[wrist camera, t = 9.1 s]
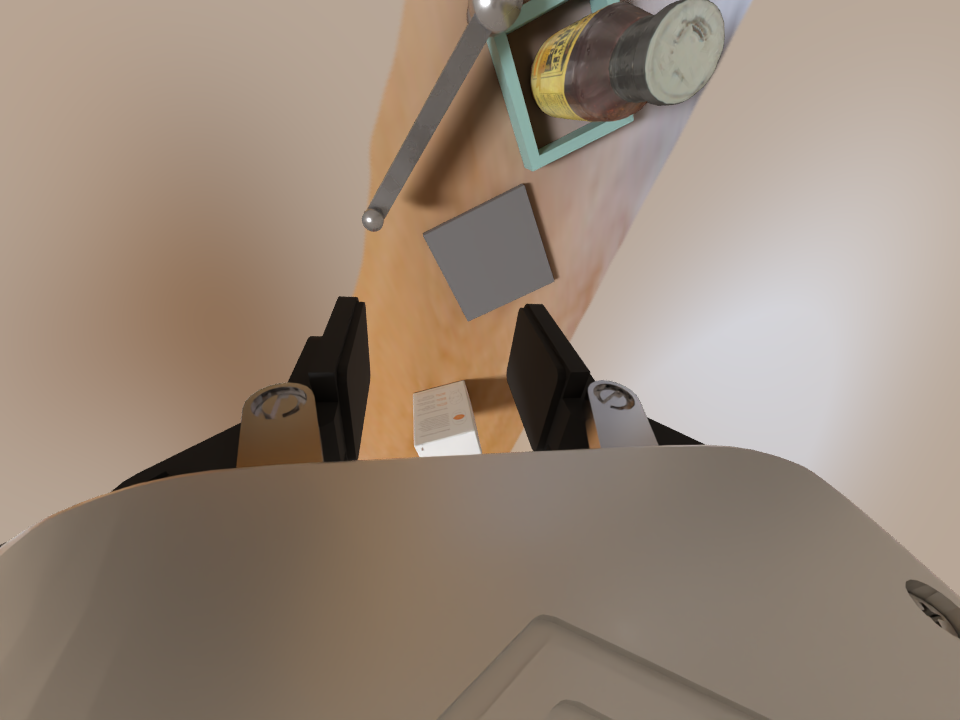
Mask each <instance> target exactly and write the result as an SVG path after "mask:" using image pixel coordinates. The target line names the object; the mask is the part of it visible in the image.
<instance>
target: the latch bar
mask: <svg viewBox="0 0 960 720" xmlns="http://www.w3.org/2000/svg"><path fill="white" fill-rule="evenodd" d="M522 4H523V0H468V6H469V13H470V17H471V20H470V22H469V23H468V25H467V27H466V29H465V31H464V33H463V34H462V36H461V38H460V40H459V42H458V44H457V45H456V47H455V49H454V51H453V53H452V54H451V56H450V58H449V60H448V62H447V64H446V65H445V67H444V69H443V71H442V73H441V75H440V76H439V78H438V80H437V82H436V84H435V86H434V87H433V89H432V91H431V93H430V95H429V97H428V98H427V100H426V102H425V104H424V106H423V108H422V109H421V111H420V113H419V115H418V117H417V119H416V120H415V122H414V124H413V126H412V128H411V130H410V131H409V133H408V135H407V137H406V139H405V141H404V142H403V144H402V146H401V148H400V150H399V152H398V153H397V155H396V157H395V159H394V161H393V163H392V164H391V166H390V168H389V170H388V172H387V174H386V175H385V177H384V179H383V181H382V183H381V185H380V186H379V188H378V190H377V192H376V194H375V196H374V197H373V199H372V201H371V203H370V205H369V207H368V208H367V210H366V211H365V212H364V214H363V216H362V223H363V225H364V227H365V228H366V229H367V230H369V231H373V232H375V231H378V230H380V229H381V228H382V226H383V222H384V219H385V217H386V215H387V214H388V212H389V210H390V208H391V207H392V205H393V203H394V201H395V200H396V198H397V196H398V194H399V193H400V191H401V189H402V187H403V186H404V184H405V182H406V180H407V179H408V177H409V175H410V173H411V172H412V170H413V168H414V166H415V165H416V163H417V161H418V160H419V158H420V156H421V154H422V153H423V151H424V149H425V147H426V146H427V144H428V142H429V140H430V139H431V137H432V135H433V133H434V132H435V130H436V128H437V126H438V125H439V123H440V121H441V119H442V118H443V116H444V114H445V113H446V111H447V109H448V107H449V106H450V104H451V102H452V100H453V99H454V97H455V95H456V93H457V92H458V90H459V88H460V86H461V85H462V83H463V81H464V79H465V78H466V76H467V74H468V72H469V71H470V69H471V67H472V65H473V64H474V62H475V60H476V59H477V57H478V55H479V53H480V52H481V50H482V48H483V46H484V45H485V43H486V41H487V39H488V38H489V37H496V36H499V35H501V34H503V33H504V32H505V31H506V30H507V29H508V28H509V27H510V26H512V25H513V24H514V22H515V21H516V20H517V18H518V16H519V14H520V12H521V8H522Z"/></svg>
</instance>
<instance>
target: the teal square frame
mask: <svg viewBox="0 0 960 720" xmlns="http://www.w3.org/2000/svg"><path fill="white" fill-rule="evenodd" d="M567 1H569V0H531V1H529V2H527V3H525V4H524V5H522V8H521V12H520V14H519V16H518V18H517V20H516V21H515V22H514V24H513V25H512V26H510V27H509V28H508V29H507V30H506V31H505V32H504V33H503V34H501V35H499V36H496V37H489V38H488V39H487V44H488V47H489V51H490V54H491V57H492V61H493V64H494V67H495V71H496V74H497V77H498V80H499V84H500V87H501V90H502V94H503V97H504V100H505V104H506V107H507V110H508V114H509V117H510V120H511V123H512V127H513V130H514V133H515V137H516V140H517V143H518V147H519V150H520V153H521V156H522V160H523V163H524V166H525V168H527V169H529V170H531V171H535V170H537V169H539V168H541V167H543V166H545V165H547V164H549V163H551V162H553V161H555V160H557V159H559V158H561V157H563V156H565V155H567V154H569V153H571V152H572V151H574V150H576V149H578V148H580V147H582V146H584V145H586V144H588V143H590V142H592V141H594V140H596V139H598V138H600V137H602V136H604V135H606V134H608V133H610V132H612V131H614V130H616V129H618V128H620V127H622V126H624V125H626V124H628V123H630V122H632V121H634V118H633V114H632V115H630V116H629V117H627V118H624V119H621V120H617V121H613V122H612V121H611V122H602V121H601V122H591V123H589V124H587V125H585V126H583V127H581V128H579V129H577V130H575V131H573V132H571V133H569V134H567V135H566V136H564V137H562V138H560V139H558V140H556V141H554V142H552V143H550V144H548V145H546V146H544V147H542V148H540V149H537V145H536V141H535V138H534V134H533V131H532V127H531V123H530V120H529V116H528V112H527V109H526V105H525V101H524V98H523V94H522V90H521V87H520V83H519V79H518V76H517V72H516V68H515V65H514V61H513V58H512V54H511V50H510V47H509V43H508V39H507V36H506V35H507V34H509V33H511V32H513V31H515V30H516V29H518V28H520V27H522V26H524V25H525V24H527V23H529V22H531V21H533V20H534V19H536V18H538V17H540V16H542V15H543V14H545V13H547V12H549V11H551V10H552V9H554V8H556V7H558V6H560V5H562V4H563V3H565V2H567ZM616 2H620V0H590V5H591V11H592V13H594V12H596V11H598V10H600V9H602V8H604V7H606V6H608V5H610V4H613V3H616ZM470 20H471V17H470V13H469V6H468V9H467V23H469V22H470Z"/></svg>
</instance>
